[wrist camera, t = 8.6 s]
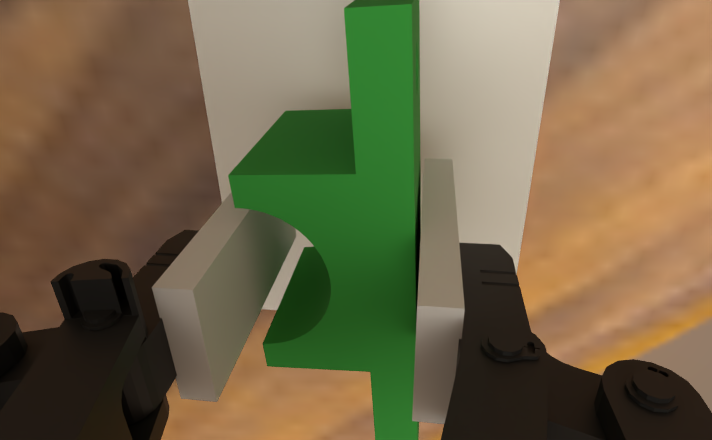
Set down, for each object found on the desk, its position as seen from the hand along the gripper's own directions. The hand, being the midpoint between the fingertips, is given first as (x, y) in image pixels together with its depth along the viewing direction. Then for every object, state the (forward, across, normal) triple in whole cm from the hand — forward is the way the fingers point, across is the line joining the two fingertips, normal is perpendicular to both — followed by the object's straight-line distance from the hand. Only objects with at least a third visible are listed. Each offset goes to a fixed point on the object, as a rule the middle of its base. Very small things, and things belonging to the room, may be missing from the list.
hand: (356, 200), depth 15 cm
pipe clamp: (+1, 0, 0) cm, 1 cm away
